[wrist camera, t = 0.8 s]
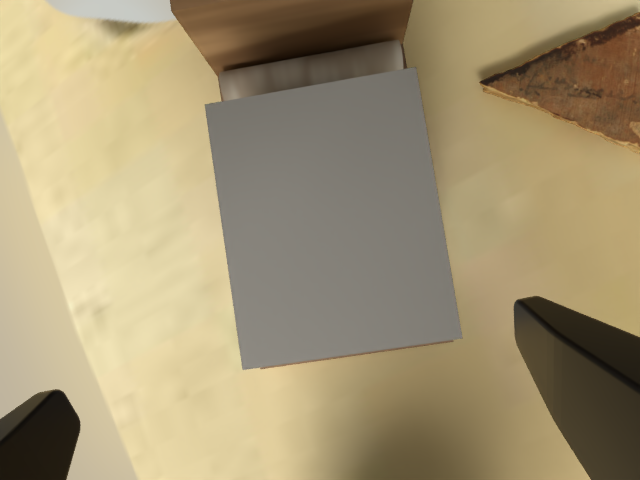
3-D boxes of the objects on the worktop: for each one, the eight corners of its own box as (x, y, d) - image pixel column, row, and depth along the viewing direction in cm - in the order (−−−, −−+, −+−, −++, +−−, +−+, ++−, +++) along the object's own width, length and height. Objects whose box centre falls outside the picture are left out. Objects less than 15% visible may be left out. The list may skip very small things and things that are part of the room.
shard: (471, 92, 27) (480, 80, 25) (524, -19, 27) (537, -39, 26) (641, 166, 26) (663, 159, 25) (695, 51, 27) (720, 35, 25)
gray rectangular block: (427, 314, 23) (462, 338, 16) (274, 337, 23) (242, 370, 16) (395, 124, 23) (416, 66, 16) (246, 150, 24) (204, 104, 17)
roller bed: (448, 337, 26) (494, 372, 18) (264, 364, 27) (227, 409, 19) (390, -6, 27) (408, -119, 19) (215, 27, 28) (160, -69, 20)
